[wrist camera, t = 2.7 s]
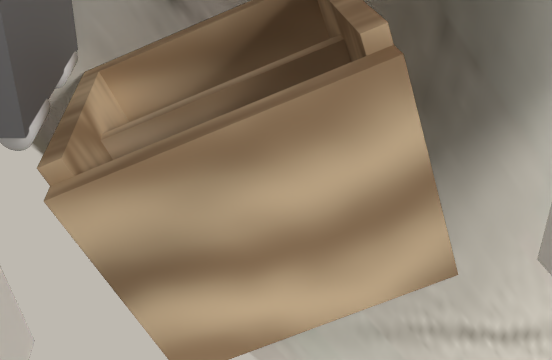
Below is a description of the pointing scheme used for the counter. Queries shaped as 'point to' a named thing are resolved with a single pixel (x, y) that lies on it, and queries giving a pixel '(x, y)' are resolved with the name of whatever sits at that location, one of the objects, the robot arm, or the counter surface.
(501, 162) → the counter surface
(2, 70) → the door
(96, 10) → the counter surface
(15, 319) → the robot arm
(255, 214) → the box
